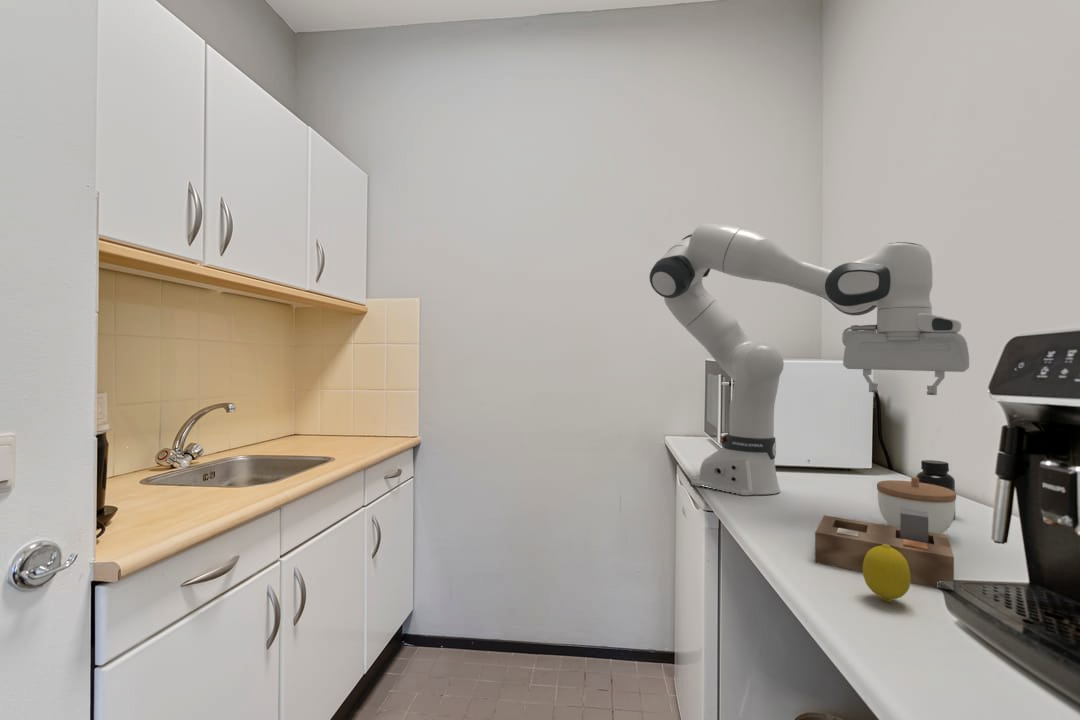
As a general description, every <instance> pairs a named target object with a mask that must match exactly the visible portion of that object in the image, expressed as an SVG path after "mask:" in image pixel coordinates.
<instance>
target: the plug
mask: <svg viewBox="0 0 1080 720" xmlns="http://www.w3.org/2000/svg"><path fill="white" fill-rule="evenodd" d="M900 539H906V540H912V541H918V542H924V543H928V514H927V512H923V511H916V510H909V509H902V508H900Z"/></svg>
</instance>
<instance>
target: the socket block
mask: <svg viewBox="0 0 1080 720" xmlns="http://www.w3.org/2000/svg"><path fill="white" fill-rule="evenodd" d="M814 537H815V538H814V540H815V541H814V552H815V553H814V562H815V561H816V562H815V563H818V562H820V563H819V564H822V563H824V564H823V565H827V564H828V566H832V565H833V567H837V568H841V569H842V568H843V569H847V570H851V571H856V572H861V573H863V561H864V558H865V555H866V554H867V552H868V551H869V550H870V549H872V548H874V547H876V546H882V545H883V544H888V545H889V546H890V547H891V548H894V549H895V550H897V551H898V552H900V553H901V554H902V555H903V557H904V558H905V559H906V561H907V563H908V566H909V569H910V577H911V581H910V583H913V584H918V585H922V586H927V587H933V588H935V589H936V588H937V582H939V581H954V582H955V580H954V579H955V566H954V565H955V556H954V553H953V550H952V549H953V548H952V546H951V542H950V540H949V535H948V534H944V533H942V534H937V533H931V532H928V543H924V542H918V541H912V540H906V539H900V527H894V526H890V525H889V524H888V525H886V524H880V523H873V522H867V521H863V520H862V521H861V520H858V519H857V520H856V519H850V518H844V517H838V516H837V517H836V516H830V515H825V514H824V515H823V516H822V518H821V520H820V522H819V524H818V526H817V528H816V530H815V533H814ZM937 589H938V588H937Z"/></svg>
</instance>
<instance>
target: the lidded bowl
mask: <svg viewBox="0 0 1080 720" xmlns="http://www.w3.org/2000/svg"><path fill="white" fill-rule="evenodd" d="M910 478H911V479H910V481H909V480H897V479H894V480H888V479H887V480H881V481H878V482H876V489H877V502H878V508H879V511H880V514H881V517H882V518H883V520H884V521H885V522H886V523H887V524H888V526H894V527H900V508H902V509H909V510H916V511H923V512H927V514H928V532H931V533H937V534H944V533H945V532H947V531H948V529H949V528H951V526H952V523H953V521H954V513H955V514H956V500H957V492H956V491H955V492H954V491H953V490H950V489H948V488H944V487H941V486H937V485H932V484H926V483H920V482H919V478H916V477H914V476H912V477H910Z"/></svg>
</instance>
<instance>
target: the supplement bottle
mask: <svg viewBox="0 0 1080 720" xmlns="http://www.w3.org/2000/svg"><path fill="white" fill-rule="evenodd" d="M920 462H921V463H920V464H921V465H920V469H921V470H922V471H920V472H918V473H917V474H916V478H919V482H920V483H926V484H932V485H937V486H941V487H944V488H948V489H950V490H953V491H954V492H955V493H956V485H955V484H956V482H955V481H956V480H955V479H954V477H953V476H952V475H950V473H948V472H950V468H949V462H947V461H941V460H933V459H932V460H931V459H927V460H926V459H924V460H921V461H920ZM955 517H956V512H955V513H954V518H955ZM954 518H953V519H954Z"/></svg>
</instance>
